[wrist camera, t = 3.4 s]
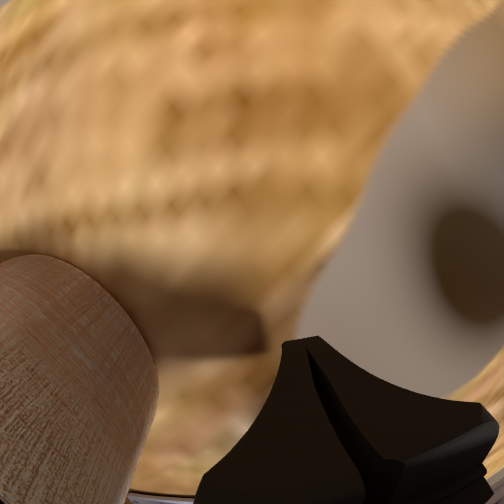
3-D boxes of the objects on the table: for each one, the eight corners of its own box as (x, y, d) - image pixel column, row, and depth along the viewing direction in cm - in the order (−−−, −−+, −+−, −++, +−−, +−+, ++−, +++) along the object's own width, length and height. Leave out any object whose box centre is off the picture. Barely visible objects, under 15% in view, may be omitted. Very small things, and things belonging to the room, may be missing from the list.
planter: (65, 434, 14) (11, 535, 4) (-27, 292, 11) (-132, 360, 2) (203, 413, 13) (180, 591, 4) (87, 208, 10) (-130, 282, 1)
